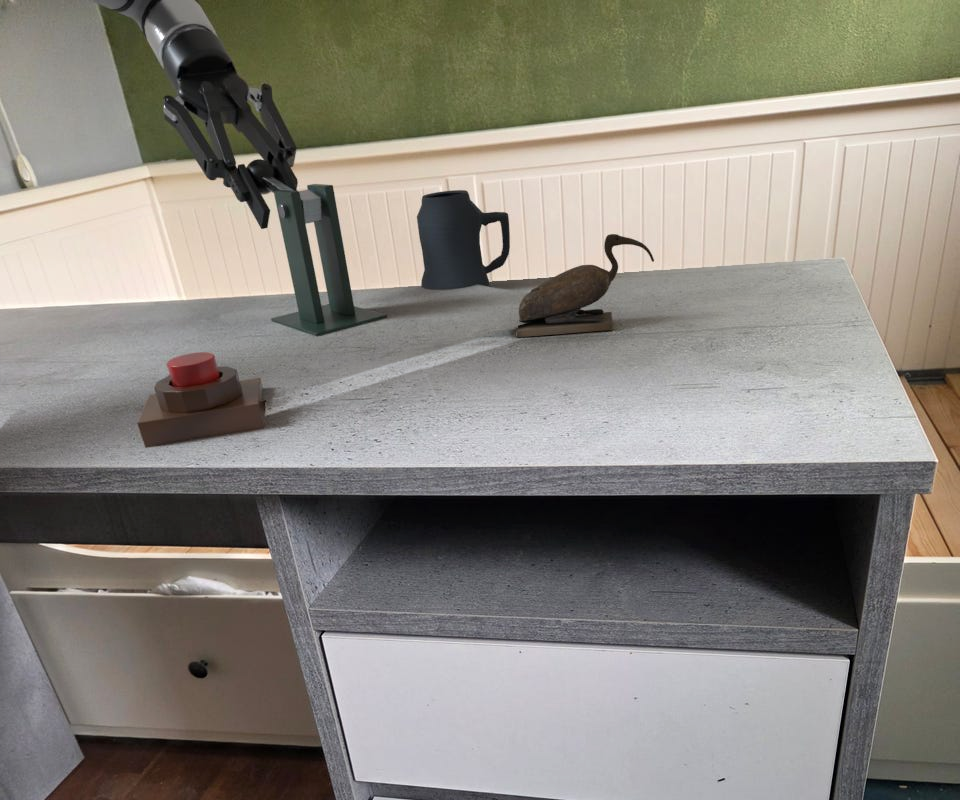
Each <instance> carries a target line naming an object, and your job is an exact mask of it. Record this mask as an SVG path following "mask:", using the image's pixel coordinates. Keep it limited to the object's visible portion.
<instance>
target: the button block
mask: <svg viewBox="0 0 960 800" xmlns="http://www.w3.org/2000/svg"><path fill="white" fill-rule="evenodd" d="M217 367H218V371H219V374H220V378H219V379H217V380H215V381H213V382H209V383H206V384H203V385H197V386H191V387H173V384H172V380H171V377H170V374H168V375H167V376H166V377H163V378H162V379H160V380H158V381H156V383H155V385H154V386H153V390H154V393H152V394H149V396H148V398H147V400H146V403H145V404H144V407H143V409H142V411H141V414H140V416H139V417H138V420H137V427H138V430H139V433H140V436H141V439H142V442H143V446H144V448H152V447H158V446H163V445H171V444H176V443H182V442H187V441H194V440H201V439H205V438H213V437H219V436H224V435H226V436H227V435H231V434H237V433H243V432H250V431H257V430H262V429H265V422H266V421H265V420H266V405H267V403H266V402H267V399H264V400H263V394H264V386H263V382H262V378H261V377H255V378H248V379H243V380H240V376H239V372H238V370H237V369H236V368H233V367H230V366H227V365H220V366H219V365H217Z"/></svg>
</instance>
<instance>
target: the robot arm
mask: <svg viewBox="0 0 960 800" xmlns="http://www.w3.org/2000/svg"><path fill="white" fill-rule="evenodd" d="M89 1H90V2H92V3H94V4H97V5H100V6H102V7H104V8H107V9H109V10H112V11H114V12H117V13H119V14H120V15H123V16H126V17H127V18H130V19H131V20H133V21H134V22H136V23H137V25H138V28H139V29H140V30H141V32H142V34H143V36H144V37H145V39H146V40H147V43H148V44H149V46H150V48H151V50H152V52H153V53H154V55H155V57H156V58H157V61H158V62H159V64H160V66H161V67H162V69H163V70H164V74H165V75H166V77H167V79H168V81H169V82H170V84H171V86H172V88H173V89H174V91H175V93H176V96H175V97H174V96H172V95H169V94H168V95H167V94H166V95H165V96H163V113H162V114H163V116H162V117H163V119H164V120H165V121H166V122H167V123H168V124H169V125H171V126H172V127H173V128H174V129H175V130H176V131H177V133H178V134H179V136H180V137H181V139H182V141H183V142H184V144H185V146H186V147H187V149H188V150H189V152H191V154H192V157H193V158H194V159H195V161H196V162H197V164H198V166H199V168H200V169H201V171H202V172H203V174H204V175H205V177H206V178H207V179H208V180H209V181H216V180H217V179H222V180H223V181H222V185H223V186H224V187H226V188H229V189H231V191H232V192H233V193H234V196H235V198H236V199H237V200H238V201H239V202H240V203H244V202H246V205H247V206H248V208H249V210H250V211H251V213H252V216H253V217H254V219H255V220H256V222H257V224H258V226H259V228H260V229H261V230H264V229H268V227H269V221H270V214H271V209H270V207H269V206H268V204H267V202H266V200H265V199H264V197H263V195H261V193H260V191H259V190H258V188H257V186H256V184H255V182H254V181H253V179H252V177H251V175H250V174H249V172H248V170H247V168H246V167H247V166H246V164H245V163H241V164H237V161H236V158H235V155H234V152H233V149H232V146H231V143H230V141H229V137H228V135H227V131H226V129H225V125H226V124H228V125H232V126H233V128H234V129H235V130H236V131H237V132H238V133H239V134H242V135H243V136H244V137H245V138H246V140H247V141H248V142H249V143H250V145H251V146H252V147H253V148H254V150H255V151H256V152H257V154H259V156H260V157H261V158H262V160H265V161H267V162H269V163H270V164H271V165H272V166H273V168H274V169H275V171H276V174H277V180H278V181H280V182H281V183H283V184H285V185H286V186H288V187H289V188H291V189H292V190H294V191H298V184H299V181H298V177H297V176H296V175H295V172H294V170H293V169H292V168H293V167H294V165H295V162H296V161H295V160H296V155H297V149H298V148H297V145H296V142H295V141H294V139H293V137H292V135H291V133H290V131H289V129H288V128H287V125H286V123H285V121H284V119H283V118H282V115H281V114H280V111H279V109H278V107H277V105H276V104H275V102H274V99H273V89H272V86H271V85H270V84H268V83H262V84H261V87H260V88H257V87H251V86H249V84H248V82H247V81H246V80H244V79H243V78H242V77H241V76H240V75H239V74H238V72H237V70H236V67H235V65H234V61H233V60H232V58H231V57H230V54H229V53H228V52H227V49H226V47H225V46H224V44H223V42H222V40H221V39H220V38H219V36H218V34H217V31H216V29H215V28H214V26H213V25H212V22H211V21H210V20H209V18H208V16H207V15H206V12H205V11H204V10H203V7H202V6H201V5H200V3H199V1H198V0H89ZM248 101H251V103H252V104H253V106H254V108H255V111H256V112H259V116H260V119H261V121H262V122H263V124H262V122H260V120H259V118H258V117H256V115H255V114H254V113H253V110H252V107H251V105H250V104H249V102H248ZM192 115H194V116H195V117H197V118H198V119H199V120H201V121H202V122H203V125H204V129H205V132H206V134H207V136H209V139H210V142H211V145H210V143H209V142H208V141H207V139H206V138H205V135H203V133H202V131H201V130H200V128H199V126H198V125H197V123H196V122H195V120H194V119H193V117H192Z"/></svg>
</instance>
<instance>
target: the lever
mask: <svg viewBox="0 0 960 800" xmlns="http://www.w3.org/2000/svg"><path fill="white" fill-rule="evenodd" d="M246 168H247V170H248V172H249V174H250V175H251V177H252V179H253V181H254V182H255V184H256V186H257V188H258V190H259V191H260V193H261V195H262V196H263V195H268V194H270V193H273V194H274V191H278V190H290V191H294V190H292V189H291V188H289V187H288V186H286V185H285V184H283V183H281V182H280V181H278V180H277V174H276V171H275V169H274V168H273V166H272V165H271V164H270V163H269V162H267V161H265V160H264V159H261V158H258V159H254V160H252V161H250V162H249V163H248V164H247V166H246ZM298 191H299V193H300V198H301V203H302V208H303V213H304V219H305V224H310V223H314V222H316V221H321V220H322V208H321V197H319V196H318V195H316V194H315V193H313V192H311V191H310V190H308V189H304V190H298Z"/></svg>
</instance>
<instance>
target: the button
mask: <svg viewBox="0 0 960 800" xmlns="http://www.w3.org/2000/svg"><path fill="white" fill-rule="evenodd" d="M217 366H218V364H217V359H216V357H215V354H214V353H212V352H204V351H203V352H192V353H187V354H182V355H178V356H176V357H173V358H171V359H169V360H168V361H167V362H166V367H167V370H168V373H169V374H168V375H170V377H171V380H172V384H173V387H191V386H197V385H203V384H206V383H209V382H213V381H215V380H217V379H219V378H220V374H219V371H218V367H217Z"/></svg>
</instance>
